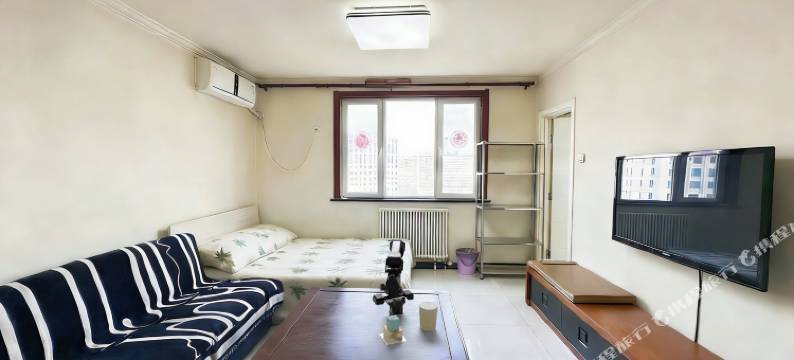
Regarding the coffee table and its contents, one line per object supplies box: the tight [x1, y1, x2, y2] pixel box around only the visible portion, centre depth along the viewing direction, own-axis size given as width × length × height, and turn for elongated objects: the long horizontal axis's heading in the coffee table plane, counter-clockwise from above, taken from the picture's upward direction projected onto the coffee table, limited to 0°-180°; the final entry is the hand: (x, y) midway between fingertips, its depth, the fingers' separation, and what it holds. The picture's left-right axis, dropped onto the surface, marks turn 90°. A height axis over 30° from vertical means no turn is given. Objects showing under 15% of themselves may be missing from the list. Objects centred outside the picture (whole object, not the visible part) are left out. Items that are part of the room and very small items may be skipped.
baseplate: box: [379, 332, 407, 346], centre depth 150 cm, size 10×10×1 cm
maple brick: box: [382, 324, 404, 343], centre depth 149 cm, size 7×7×4 cm
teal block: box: [386, 315, 400, 331], centre depth 149 cm, size 4×4×5 cm
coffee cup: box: [418, 301, 439, 333], centre depth 159 cm, size 9×9×12 cm
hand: (393, 314), depth 149 cm, fingers closed
